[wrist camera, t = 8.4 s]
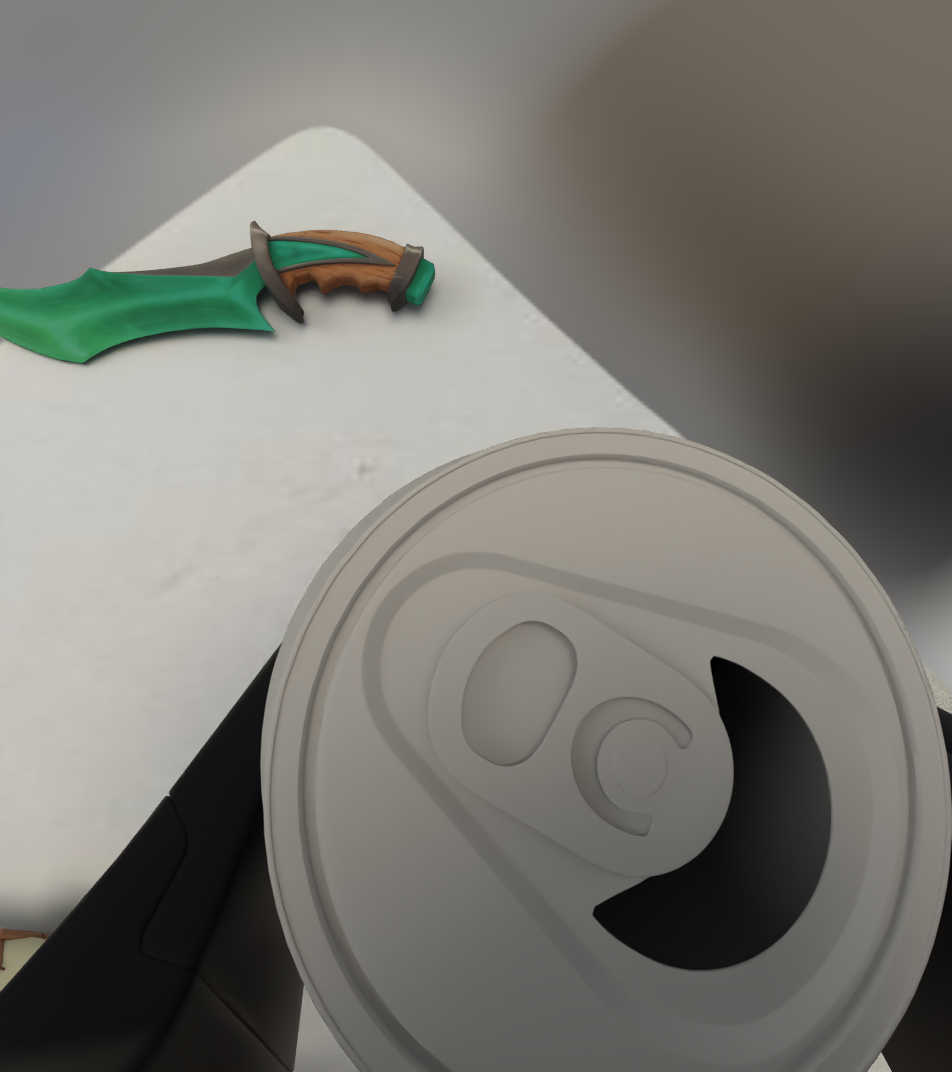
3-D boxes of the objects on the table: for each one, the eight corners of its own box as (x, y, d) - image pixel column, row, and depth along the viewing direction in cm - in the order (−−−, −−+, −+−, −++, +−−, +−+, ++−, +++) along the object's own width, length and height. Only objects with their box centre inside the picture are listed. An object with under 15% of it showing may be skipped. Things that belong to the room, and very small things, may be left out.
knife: (441, 321, 24) (421, 217, 24) (443, 300, 22) (421, 189, 22) (-59, 393, 21) (-76, 278, 22) (-104, 377, 20) (-122, 252, 20)
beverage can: (508, 820, 15) (847, 1497, 3) (321, 705, 15) (-14, 968, 3) (608, 631, 16) (1096, 627, 5) (437, 525, 16) (497, 252, 5)
